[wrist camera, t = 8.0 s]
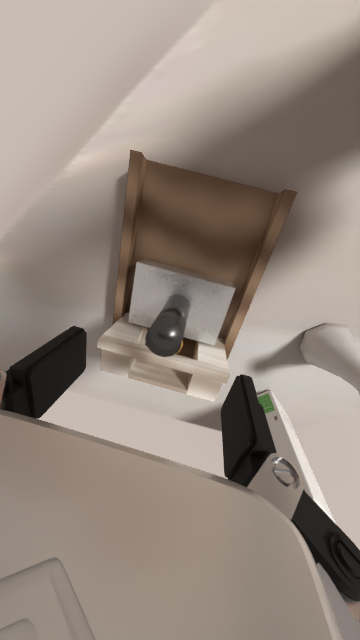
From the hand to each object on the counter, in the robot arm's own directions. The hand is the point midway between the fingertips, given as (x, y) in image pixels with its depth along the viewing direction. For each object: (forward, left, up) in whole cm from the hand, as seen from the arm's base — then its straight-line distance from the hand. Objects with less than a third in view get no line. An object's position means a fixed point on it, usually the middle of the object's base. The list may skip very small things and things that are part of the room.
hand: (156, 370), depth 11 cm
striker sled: (+1, 0, -17) cm, 17 cm away
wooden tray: (-2, 0, -19) cm, 19 cm away
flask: (+2, +23, -19) cm, 30 cm away
